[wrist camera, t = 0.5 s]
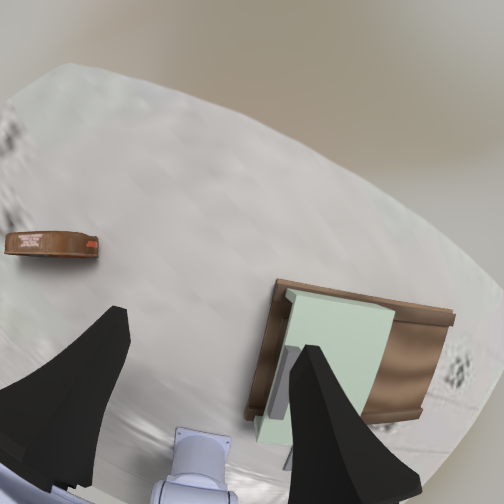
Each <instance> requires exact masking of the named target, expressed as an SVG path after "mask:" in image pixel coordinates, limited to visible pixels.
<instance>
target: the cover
mask: <svg viewBox="0 0 504 504" xmlns="http://www.w3.org/2000/svg"><path fill="white" fill-rule="evenodd" d="M285 297H286V298H287V299H289V300H290V301H291V302H292V303H293V304H292V309H291V313H290V317H289V321H288V325H287V329H286V334H285V338H284V342H283V346H282V349H281V353H280V357H279V361H278V365H277V369H276V372H275V376H274V380H273V383H272V387H271V391H270V394H269V398H268V401H267V405H266V408H265V412H264V415H263V416H256V415H255V418H254V427H255V434H256V441H257V443H265V444H279V445H293V438H292V426H291V415H290V404H289V372H290V370H291V368H292V367H293V365H294V363H295V362H296V360H297V358H298V356H299V355H300V353H301V351H302V349H303V348H304V346H305V344H307V345H316V346H320V348H321V350H322V352H323V354H324V355H325V357H326V359H327V361H328V363H329V365H330V367H331V369H332V371H333V373H334V374H335V376H336V378H337V380H338V382H339V384H340V385H341V387H342V389H343V390H344V392H345V394H346V396H347V397H348V399H349V400H350V402H351V404H352V405H353V407H354V408H355V410H356V411H357V413H358V414H359V416H360V415H361V413H362V411H363V408H364V406H365V403H366V401H367V398H368V396H369V393H370V391H371V388H372V385H373V383H374V380H375V377H376V374H377V371H378V368H379V366H380V363H381V359H382V356H383V353H384V350H385V347H386V343H387V340H388V337H389V333H390V330H391V326H392V322H393V318H394V314H395V311H393V310H390V309H388V308H385V307H382V306H380V305H377V304H373V303H367V302H361V301H355V300H349V299H343V298H338V297H332V296H327V295H321V294H316V293H310V292H305V291H299V290H294V289H289V288H287V291H286V295H285Z"/></svg>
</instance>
